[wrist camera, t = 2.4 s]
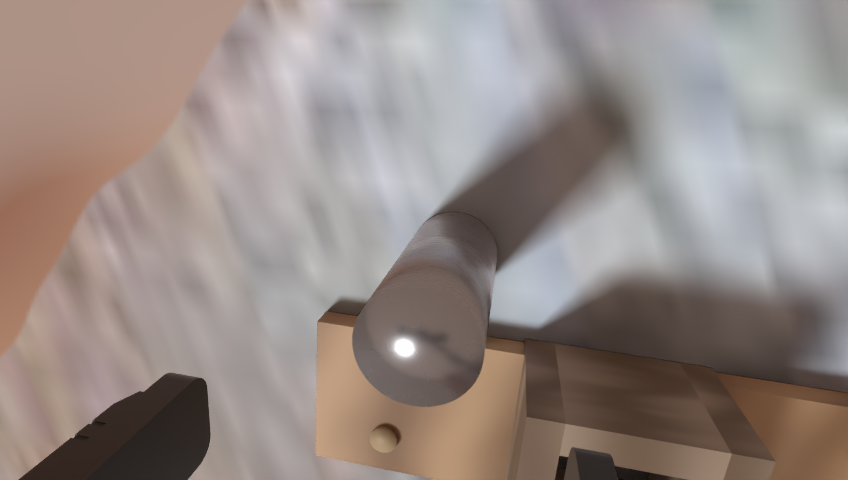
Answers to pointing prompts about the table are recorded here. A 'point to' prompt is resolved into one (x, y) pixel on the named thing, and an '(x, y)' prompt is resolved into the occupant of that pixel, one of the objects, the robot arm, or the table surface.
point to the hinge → (579, 417)
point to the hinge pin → (430, 314)
